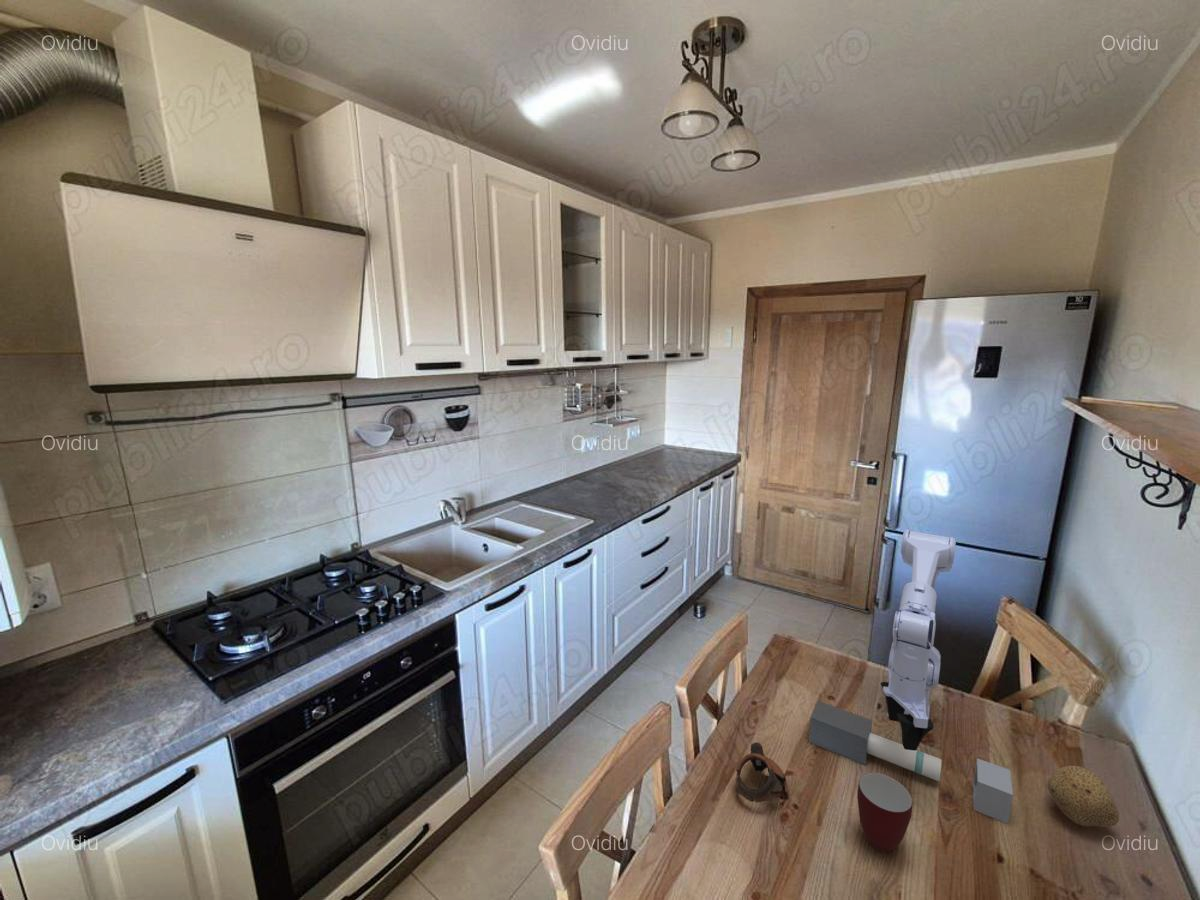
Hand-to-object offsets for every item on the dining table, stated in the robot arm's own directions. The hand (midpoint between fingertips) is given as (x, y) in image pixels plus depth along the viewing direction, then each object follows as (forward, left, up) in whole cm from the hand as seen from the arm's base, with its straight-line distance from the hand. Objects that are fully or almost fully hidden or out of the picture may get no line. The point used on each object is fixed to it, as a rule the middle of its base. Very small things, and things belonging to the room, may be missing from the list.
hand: (902, 733), depth 98 cm
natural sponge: (-8, +27, -10) cm, 30 cm away
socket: (-3, +15, -10) cm, 18 cm away
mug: (+16, -2, -10) cm, 19 cm away
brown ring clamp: (+18, -22, -10) cm, 30 cm away
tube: (-3, -5, -9) cm, 10 cm away
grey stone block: (-3, -11, -10) cm, 15 cm away
